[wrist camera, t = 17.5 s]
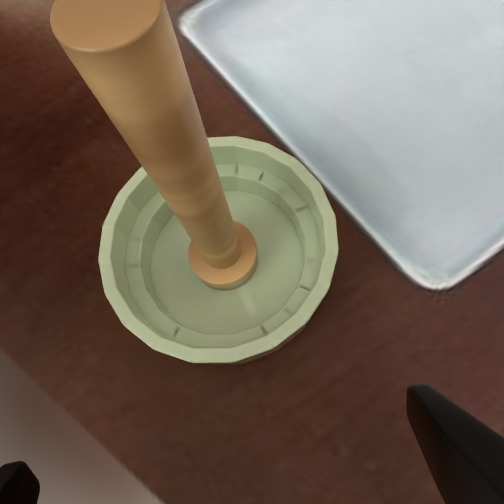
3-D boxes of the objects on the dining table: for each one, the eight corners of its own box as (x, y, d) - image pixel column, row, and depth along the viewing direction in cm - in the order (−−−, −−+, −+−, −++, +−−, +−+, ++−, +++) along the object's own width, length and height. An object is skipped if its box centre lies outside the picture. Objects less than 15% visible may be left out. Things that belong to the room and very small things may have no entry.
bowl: (201, 410, 18) (180, 421, 14) (98, 246, 21) (59, 219, 18) (369, 279, 19) (390, 257, 16) (248, 145, 23) (242, 100, 19)
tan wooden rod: (264, 283, 19) (223, 62, 5) (199, 296, 19) (-3, 109, 6) (252, 223, 20) (193, -82, 7) (190, 236, 20) (7, -43, 7)
